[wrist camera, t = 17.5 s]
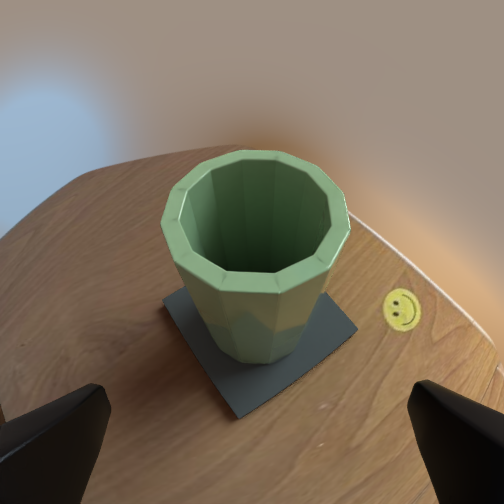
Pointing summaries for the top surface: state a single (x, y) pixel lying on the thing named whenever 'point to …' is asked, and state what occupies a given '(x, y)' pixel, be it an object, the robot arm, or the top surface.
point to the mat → (258, 375)
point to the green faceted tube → (256, 247)
